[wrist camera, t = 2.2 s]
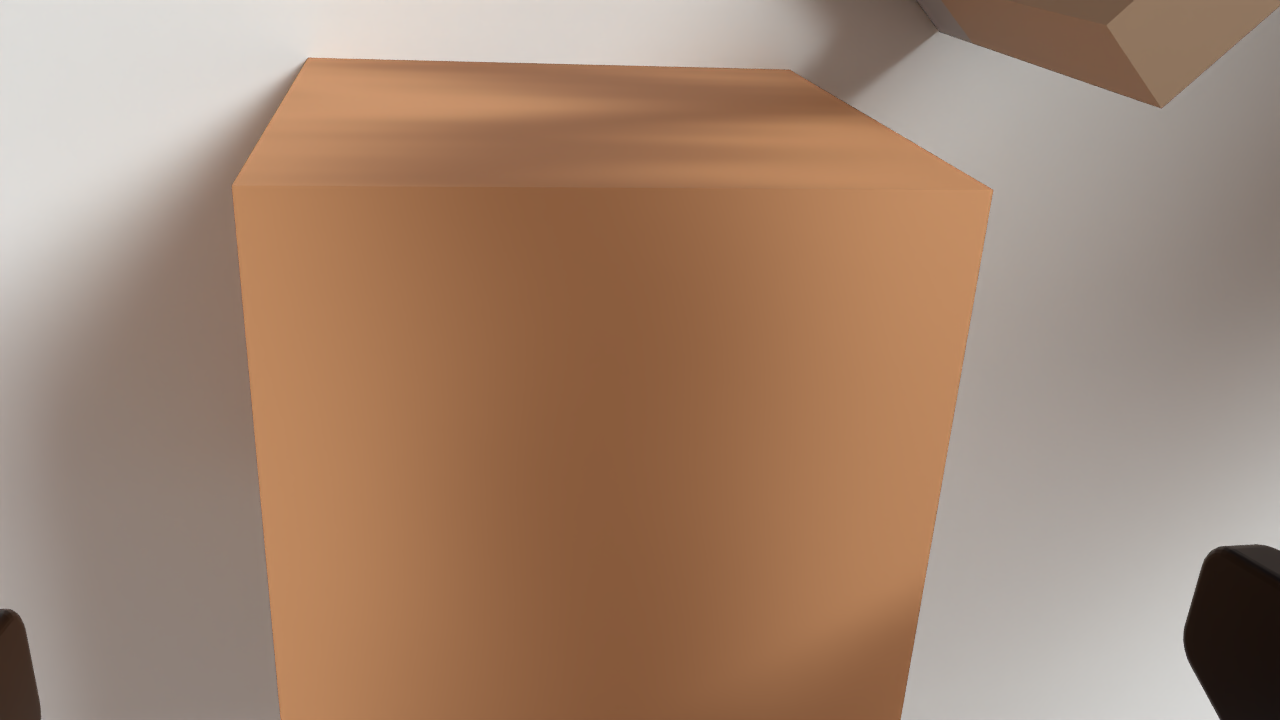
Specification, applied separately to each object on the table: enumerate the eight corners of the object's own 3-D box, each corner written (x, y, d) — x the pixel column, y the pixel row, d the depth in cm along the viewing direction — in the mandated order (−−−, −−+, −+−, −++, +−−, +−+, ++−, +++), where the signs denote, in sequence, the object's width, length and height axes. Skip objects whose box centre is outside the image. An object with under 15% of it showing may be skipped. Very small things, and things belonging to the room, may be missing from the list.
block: (787, 68, 15) (992, 190, 9) (747, 475, 17) (893, 759, 12) (308, 56, 14) (232, 185, 8) (335, 491, 16) (289, 810, 11)
